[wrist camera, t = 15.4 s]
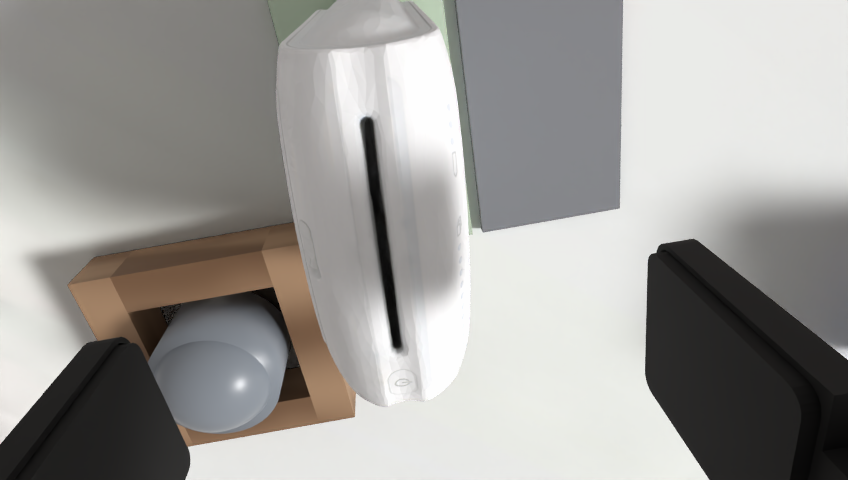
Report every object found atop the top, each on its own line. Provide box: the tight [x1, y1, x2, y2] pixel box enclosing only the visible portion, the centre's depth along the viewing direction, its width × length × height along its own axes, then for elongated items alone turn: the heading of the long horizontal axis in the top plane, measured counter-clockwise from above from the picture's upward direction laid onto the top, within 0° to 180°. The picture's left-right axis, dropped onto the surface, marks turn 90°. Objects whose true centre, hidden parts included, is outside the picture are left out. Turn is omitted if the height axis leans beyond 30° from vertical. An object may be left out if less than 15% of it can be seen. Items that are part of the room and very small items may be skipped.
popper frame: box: [68, 222, 356, 447], centre depth 26 cm, size 10×10×2 cm
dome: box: [148, 291, 291, 434], centre depth 24 cm, size 6×6×5 cm
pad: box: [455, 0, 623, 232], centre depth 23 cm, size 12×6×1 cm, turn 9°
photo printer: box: [276, 0, 470, 407], centre depth 17 cm, size 10×4×12 cm, turn 5°
